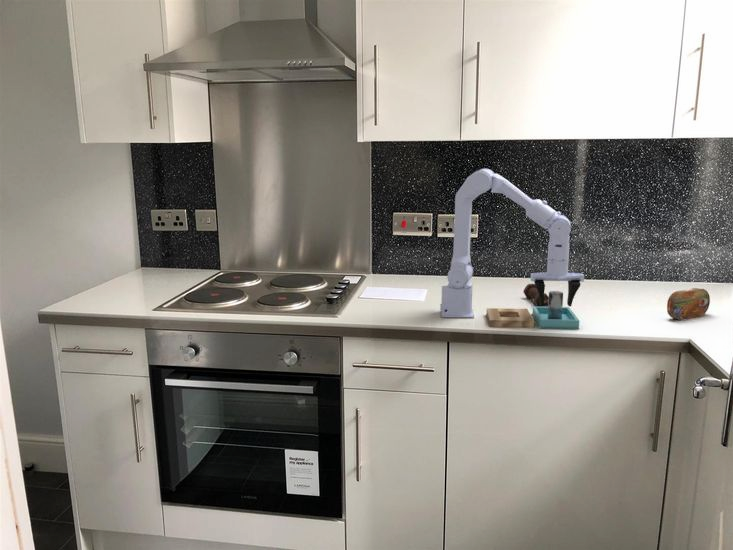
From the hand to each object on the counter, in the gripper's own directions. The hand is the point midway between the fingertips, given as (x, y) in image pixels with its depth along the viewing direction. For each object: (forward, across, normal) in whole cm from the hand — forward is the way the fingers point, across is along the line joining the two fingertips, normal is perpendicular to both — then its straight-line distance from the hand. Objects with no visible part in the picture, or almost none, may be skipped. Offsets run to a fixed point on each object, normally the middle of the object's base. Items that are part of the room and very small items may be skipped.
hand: (555, 305), depth 179 cm
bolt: (+5, -2, +19) cm, 20 cm away
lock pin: (+4, 0, 0) cm, 4 cm away
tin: (+5, +39, +6) cm, 40 cm away
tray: (+5, 0, 0) cm, 5 cm away
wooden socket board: (+5, -13, 0) cm, 14 cm away
